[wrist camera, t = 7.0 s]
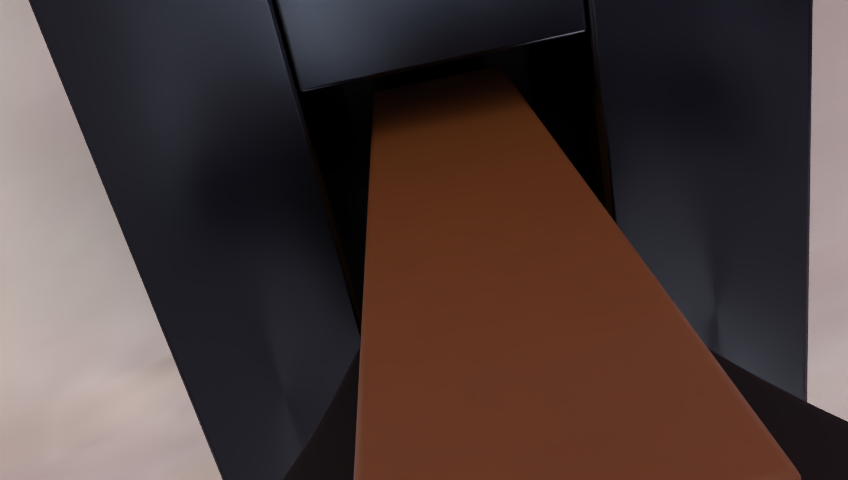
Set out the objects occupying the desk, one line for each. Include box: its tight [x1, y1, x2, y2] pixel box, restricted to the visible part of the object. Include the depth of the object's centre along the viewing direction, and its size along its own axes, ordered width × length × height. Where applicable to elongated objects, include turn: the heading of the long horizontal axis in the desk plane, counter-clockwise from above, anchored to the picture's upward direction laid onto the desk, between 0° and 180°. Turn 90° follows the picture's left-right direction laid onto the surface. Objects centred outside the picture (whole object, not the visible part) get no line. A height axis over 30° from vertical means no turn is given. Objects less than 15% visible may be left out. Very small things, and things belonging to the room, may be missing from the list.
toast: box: [353, 66, 801, 480], centre depth 9 cm, size 2×6×9 cm, turn 12°
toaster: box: [29, 0, 813, 480], centre depth 13 cm, size 9×13×6 cm, turn 11°
